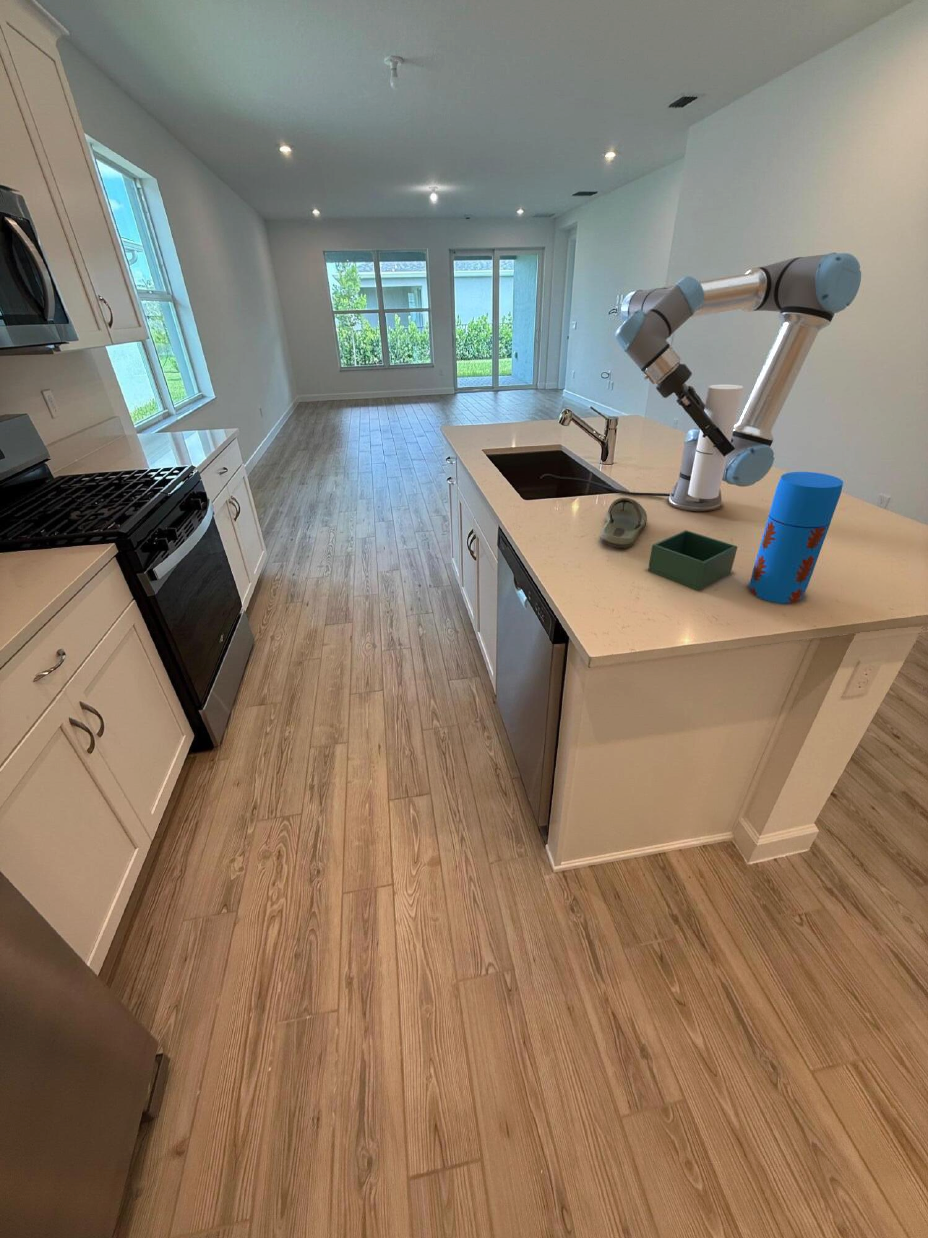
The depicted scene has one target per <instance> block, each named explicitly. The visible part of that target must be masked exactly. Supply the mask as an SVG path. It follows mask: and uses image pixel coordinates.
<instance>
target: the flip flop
mask: <svg viewBox="0 0 928 1238" xmlns="http://www.w3.org/2000/svg"><path fill="white" fill-rule="evenodd" d="M605 521H606V523H605V525H604V526H603V527H602V529H601V531H600V533H599V541H600V543H602V545H606V546H609V547H613V548H617V549H628V548H631V547H632V546H633V545H634V544H635V542H636V540H637V537H638V535H639V534H640V533H641V532H642V531H643V530H644V528H645V527H646V525H647V523H648V522H647V521H648V514H647V512H646V510H645V509H644V507H643V506H642V505H641V503H640V502H638V501H636V500H635V499H632V498H630V497H619V498H616V499H615V500H613V501H612V502H611V504H610V505H609V507H608V509H607V511H606V513H605Z"/></svg>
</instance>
